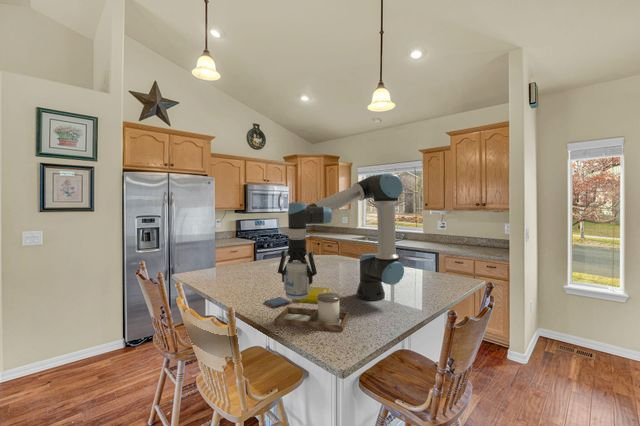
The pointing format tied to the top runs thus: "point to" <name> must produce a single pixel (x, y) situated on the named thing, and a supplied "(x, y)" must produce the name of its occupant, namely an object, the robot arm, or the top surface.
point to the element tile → (314, 294)
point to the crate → (309, 319)
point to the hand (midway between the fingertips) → (297, 290)
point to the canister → (328, 308)
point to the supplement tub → (296, 280)
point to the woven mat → (277, 302)
